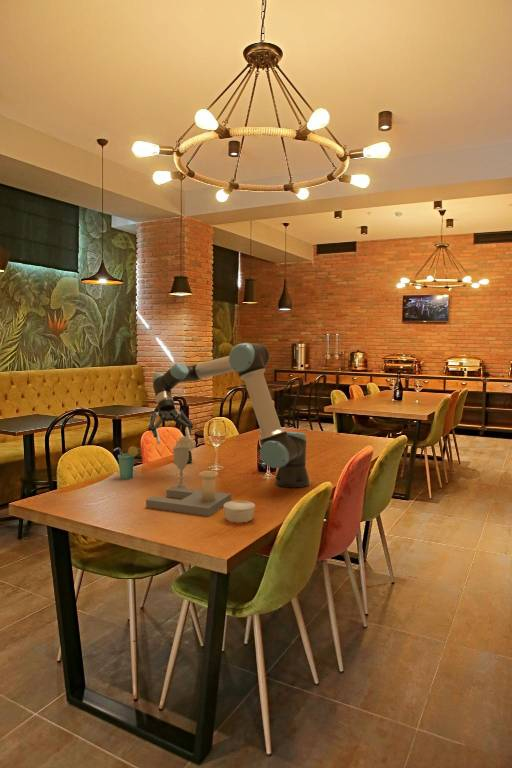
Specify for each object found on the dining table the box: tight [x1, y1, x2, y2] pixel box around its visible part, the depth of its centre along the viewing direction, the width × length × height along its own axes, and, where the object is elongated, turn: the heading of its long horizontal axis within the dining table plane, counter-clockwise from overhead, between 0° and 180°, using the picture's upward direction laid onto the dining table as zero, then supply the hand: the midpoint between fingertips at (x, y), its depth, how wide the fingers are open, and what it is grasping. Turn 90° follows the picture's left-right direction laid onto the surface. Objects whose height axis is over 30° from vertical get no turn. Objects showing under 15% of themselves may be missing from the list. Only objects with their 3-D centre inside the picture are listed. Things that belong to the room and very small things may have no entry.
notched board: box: [145, 470, 232, 517], centre depth 210 cm, size 26×20×13 cm
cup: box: [112, 445, 139, 480], centre depth 248 cm, size 14×8×15 cm, turn 149°
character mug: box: [175, 435, 197, 464], centre depth 281 cm, size 11×7×13 cm, turn 71°
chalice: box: [172, 445, 190, 488], centre depth 231 cm, size 7×7×18 cm
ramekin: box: [222, 500, 256, 524], centre depth 195 cm, size 11×11×5 cm
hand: (174, 441), depth 239 cm, fingers open, 13 cm apart
